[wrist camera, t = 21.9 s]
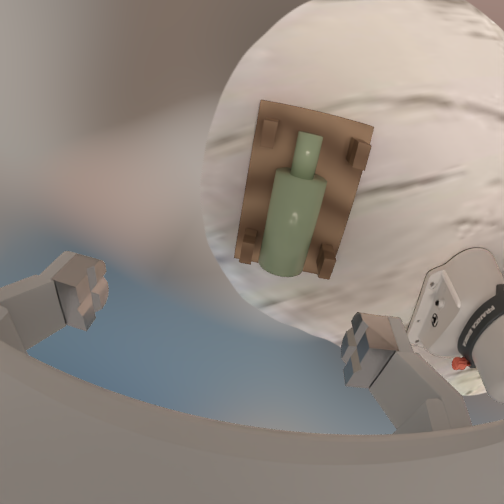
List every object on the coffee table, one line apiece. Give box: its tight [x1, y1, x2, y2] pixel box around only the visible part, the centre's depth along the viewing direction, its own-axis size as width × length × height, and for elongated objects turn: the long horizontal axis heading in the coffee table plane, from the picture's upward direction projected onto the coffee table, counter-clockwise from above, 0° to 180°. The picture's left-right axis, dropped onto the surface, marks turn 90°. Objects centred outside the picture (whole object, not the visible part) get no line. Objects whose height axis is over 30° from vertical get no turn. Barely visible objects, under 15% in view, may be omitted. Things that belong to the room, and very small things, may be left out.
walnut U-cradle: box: [234, 100, 374, 279], centre depth 37 cm, size 22×14×5 cm, turn 170°
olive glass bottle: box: [258, 131, 327, 277], centre depth 35 cm, size 6×6×17 cm
